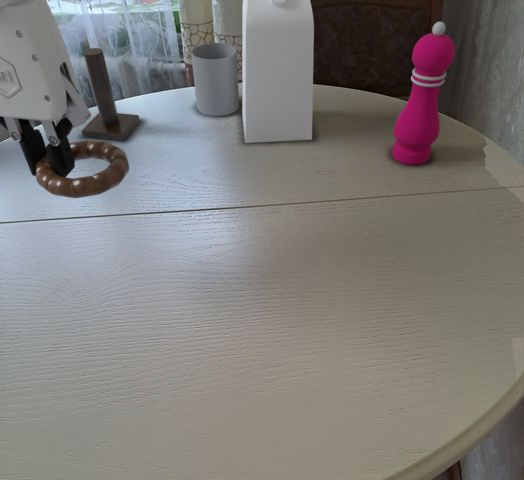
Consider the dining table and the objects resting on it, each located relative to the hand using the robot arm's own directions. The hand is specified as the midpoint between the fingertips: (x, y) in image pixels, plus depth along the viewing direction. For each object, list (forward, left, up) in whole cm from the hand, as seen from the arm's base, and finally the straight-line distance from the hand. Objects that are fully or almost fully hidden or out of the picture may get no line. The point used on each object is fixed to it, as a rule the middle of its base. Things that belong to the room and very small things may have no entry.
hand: (54, 170), depth 57 cm
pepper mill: (+41, +39, -14) cm, 59 cm away
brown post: (-14, +38, -14) cm, 43 cm away
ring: (+4, 0, +1) cm, 4 cm away
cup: (+3, +51, -14) cm, 53 cm away
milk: (+16, +45, -14) cm, 50 cm away
